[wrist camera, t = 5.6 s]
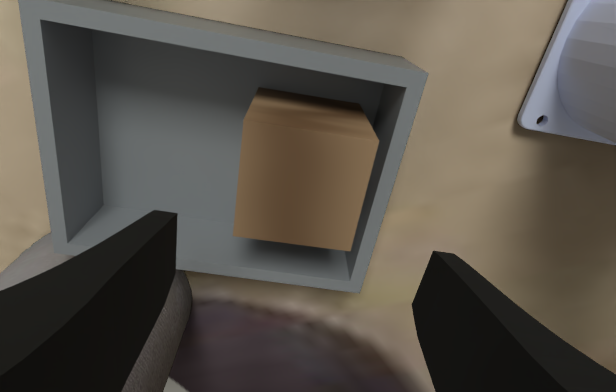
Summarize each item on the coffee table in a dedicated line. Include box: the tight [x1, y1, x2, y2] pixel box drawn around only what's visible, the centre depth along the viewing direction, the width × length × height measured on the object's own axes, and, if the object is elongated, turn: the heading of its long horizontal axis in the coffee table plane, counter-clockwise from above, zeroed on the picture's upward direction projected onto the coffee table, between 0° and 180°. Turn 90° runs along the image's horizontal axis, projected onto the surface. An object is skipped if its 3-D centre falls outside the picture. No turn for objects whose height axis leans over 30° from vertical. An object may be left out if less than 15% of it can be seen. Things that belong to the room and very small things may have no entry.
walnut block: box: [233, 87, 379, 251], centre depth 16 cm, size 4×4×5 cm
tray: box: [18, 0, 428, 293], centre depth 17 cm, size 14×10×4 cm
